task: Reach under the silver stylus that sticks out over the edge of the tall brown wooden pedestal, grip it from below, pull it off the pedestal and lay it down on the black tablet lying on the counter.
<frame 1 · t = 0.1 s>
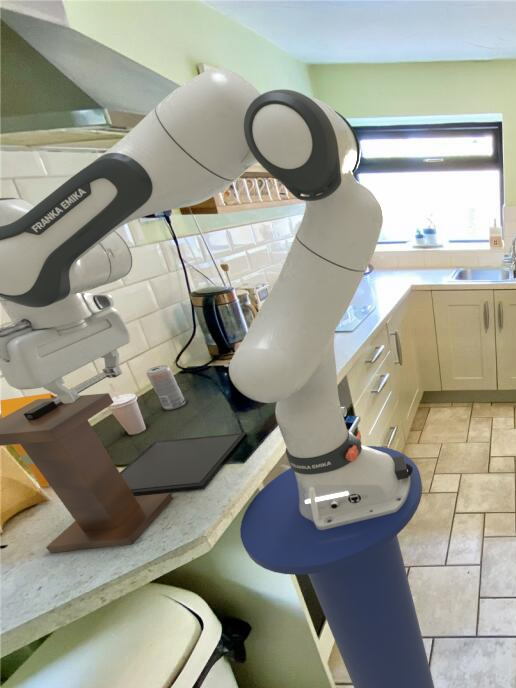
hand: (94, 387, 72), 27 cm above the worktop, tool pointing down, fingers open, 8 cm apart
brown wooden pedestal: (116, 523, 81), on the worktop
stylus: (73, 396, 74), point 25 cm above the worktop, touching brown wooden pedestal
energy drink: (175, 406, 123), on the worktop
smoothie: (137, 431, 111), on the worktop
orange juice: (77, 473, 96), on the worktop
tablet: (178, 464, 97), on the worktop
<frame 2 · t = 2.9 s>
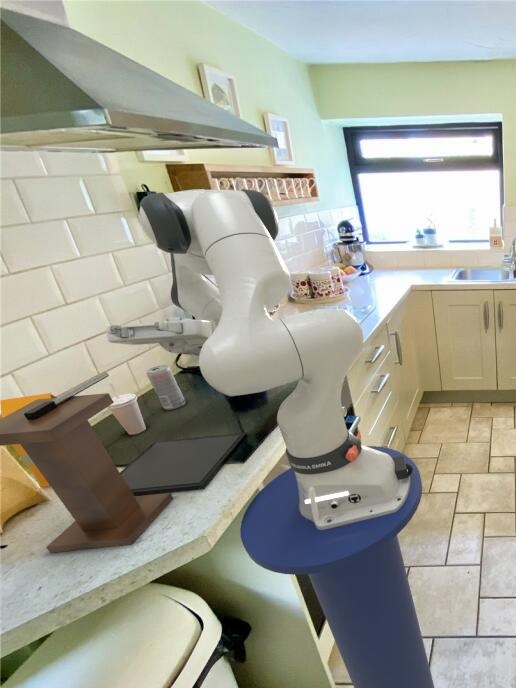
hand: (134, 327, 89), 31 cm above the worktop, tool pointing upward, fingers open, 8 cm apart
nothing on the worktop moved.
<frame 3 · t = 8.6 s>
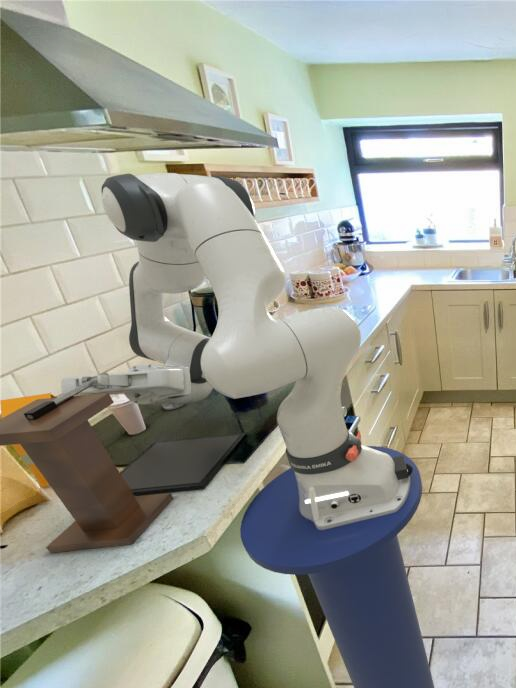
hand: (89, 380, 78), 26 cm above the worktop, tool pointing upward, fingers closed on stylus, 1 cm apart
stylus: (73, 396, 74), point 25 cm above the worktop, touching gripper, brown wooden pedestal
everything else where it was.
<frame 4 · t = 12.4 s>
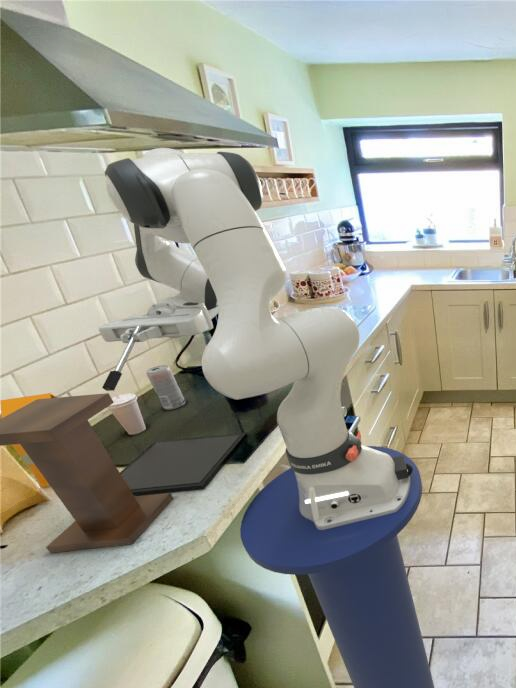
hand: (131, 339, 88), 29 cm above the worktop, tool horizontal, fingers closed on stylus, 1 cm apart
stylus: (126, 358, 86), point 26 cm above the worktop, tilted 30°, touching gripper
everything else where it was.
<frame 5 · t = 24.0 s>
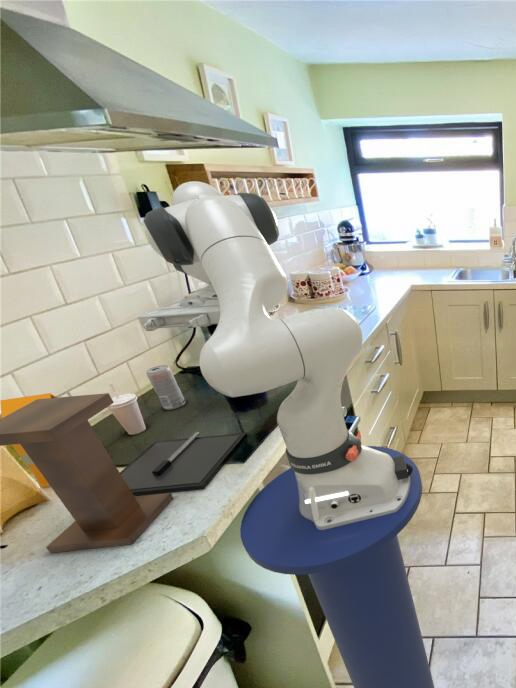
hand: (168, 326, 99), 28 cm above the worktop, tool horizontal, fingers open, 8 cm apart
stylus: (179, 453, 99), point 1 cm above the worktop, touching tablet
everything else where it was.
at the end: stylus inside the target area on the tablet (3.2 cm from its centre), point 1.1 cm above the tablet's base; the gripper is holding nothing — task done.
